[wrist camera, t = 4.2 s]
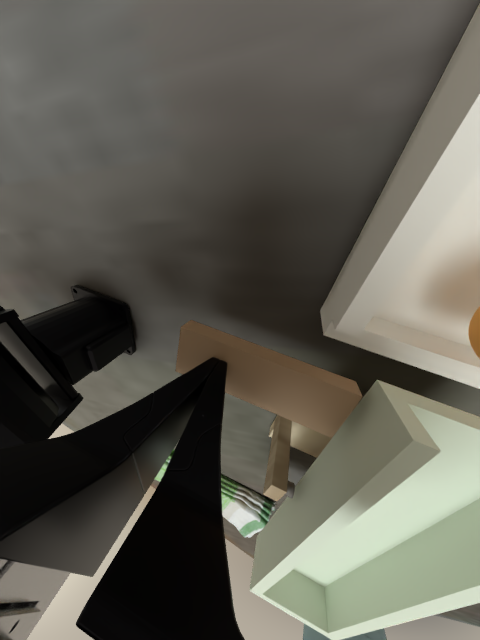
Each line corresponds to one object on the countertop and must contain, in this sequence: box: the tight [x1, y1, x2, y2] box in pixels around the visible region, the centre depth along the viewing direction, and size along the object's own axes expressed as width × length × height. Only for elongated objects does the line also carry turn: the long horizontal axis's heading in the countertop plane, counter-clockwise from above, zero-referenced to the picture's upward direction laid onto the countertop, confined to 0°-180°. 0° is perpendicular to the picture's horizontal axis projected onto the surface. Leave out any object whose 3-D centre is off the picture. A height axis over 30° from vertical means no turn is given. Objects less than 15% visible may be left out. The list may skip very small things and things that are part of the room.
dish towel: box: [155, 449, 275, 537], centre depth 34 cm, size 17×23×4 cm
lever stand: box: [263, 403, 359, 501], centre depth 14 cm, size 11×8×7 cm
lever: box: [176, 320, 480, 640], centre depth 12 cm, size 16×20×3 cm
